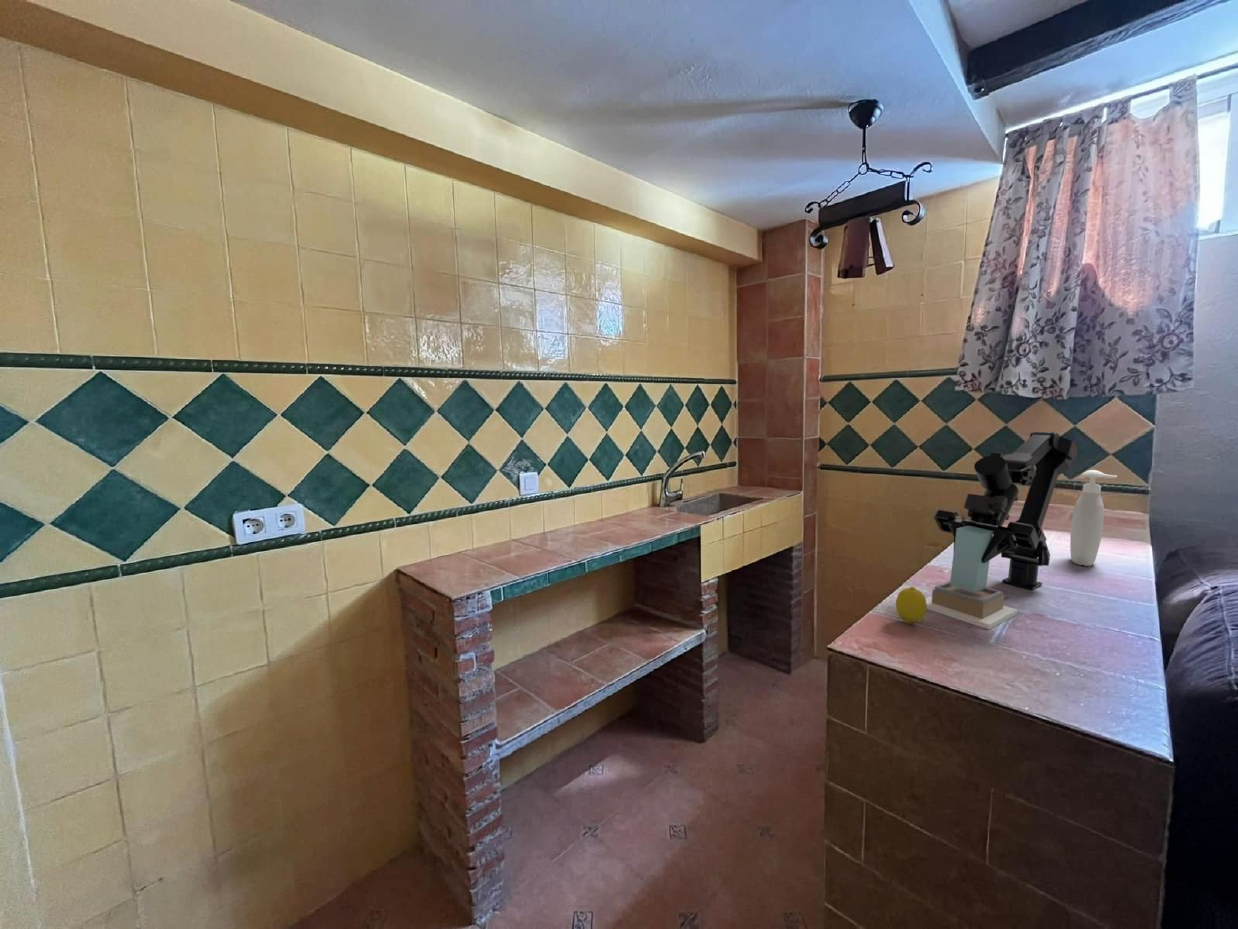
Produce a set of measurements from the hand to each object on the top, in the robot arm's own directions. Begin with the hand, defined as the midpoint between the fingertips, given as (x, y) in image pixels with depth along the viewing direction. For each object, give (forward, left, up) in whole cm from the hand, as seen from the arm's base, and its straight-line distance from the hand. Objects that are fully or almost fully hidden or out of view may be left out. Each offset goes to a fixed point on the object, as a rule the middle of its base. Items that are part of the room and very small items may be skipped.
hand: (968, 558), depth 109 cm
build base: (-1, 0, -12) cm, 12 cm away
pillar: (-1, 0, -7) cm, 7 cm away
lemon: (+17, -3, -12) cm, 21 cm away
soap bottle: (-67, +3, -12) cm, 69 cm away
